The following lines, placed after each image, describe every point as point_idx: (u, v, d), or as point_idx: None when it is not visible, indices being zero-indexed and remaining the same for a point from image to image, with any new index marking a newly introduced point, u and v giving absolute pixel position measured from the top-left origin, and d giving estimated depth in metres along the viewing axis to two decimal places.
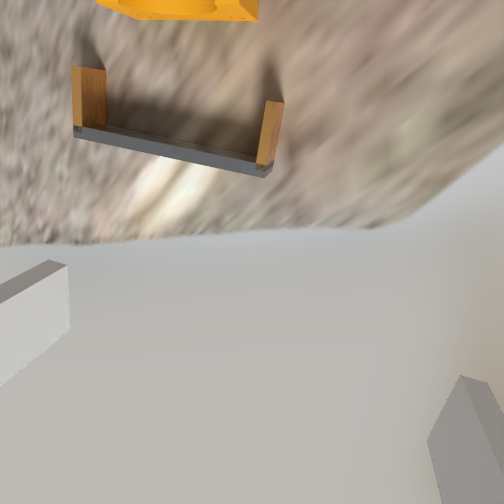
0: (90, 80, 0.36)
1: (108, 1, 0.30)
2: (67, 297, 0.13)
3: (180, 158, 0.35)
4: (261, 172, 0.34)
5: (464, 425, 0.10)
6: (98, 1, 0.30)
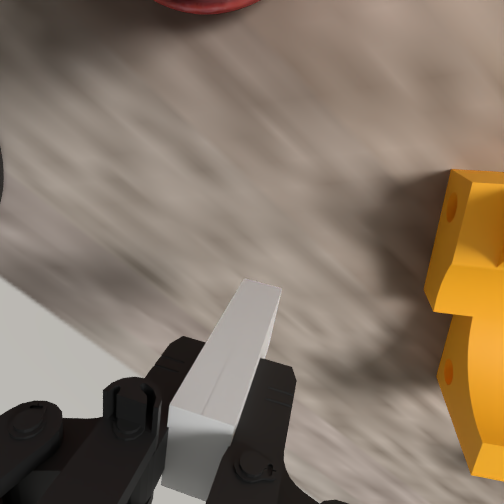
0: None
1: None
2: None
3: None
4: None
5: None
6: None
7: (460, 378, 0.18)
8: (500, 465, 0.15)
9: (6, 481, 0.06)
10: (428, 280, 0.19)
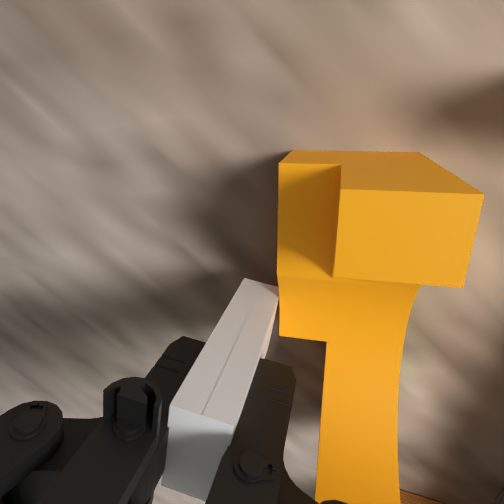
0: None
1: None
2: None
3: None
4: None
5: None
6: None
7: None
8: None
9: (7, 481, 0.06)
10: None
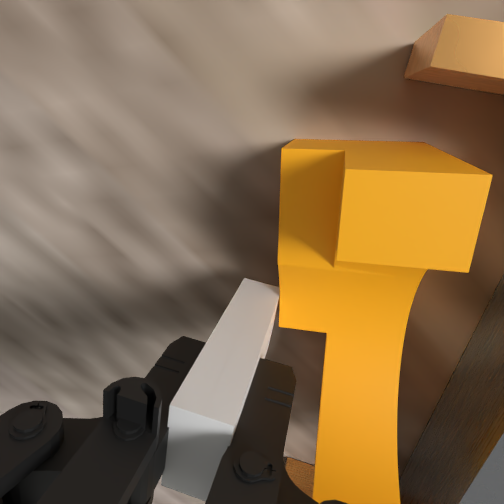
0: None
1: None
2: None
3: None
4: None
5: None
6: None
7: (319, 413, 0.14)
8: None
9: (6, 481, 0.06)
10: None
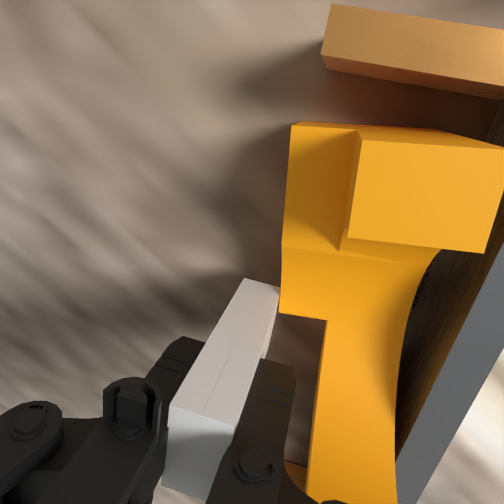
0: None
1: None
2: None
3: (478, 380, 0.11)
4: None
5: None
6: None
7: (316, 402, 0.14)
8: None
9: (6, 481, 0.06)
10: None
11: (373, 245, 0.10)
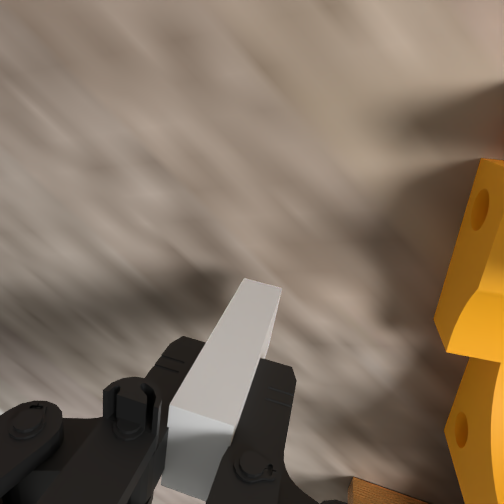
0: None
1: None
2: None
3: None
4: None
5: None
6: None
7: (478, 444, 0.13)
8: None
9: (6, 481, 0.06)
10: (441, 307, 0.14)
11: None
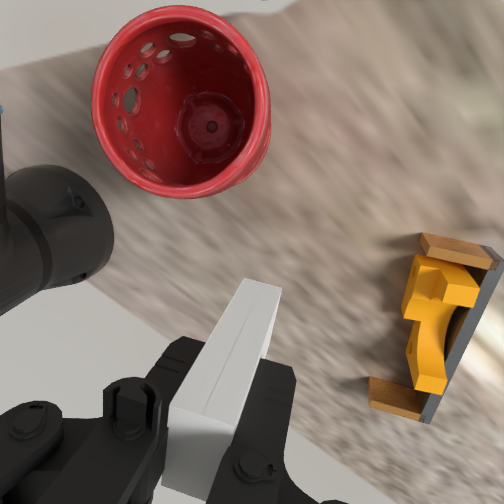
0: (380, 393, 0.42)
1: (443, 386, 0.36)
2: None
3: (468, 339, 0.36)
4: (500, 264, 0.33)
5: None
6: (441, 393, 0.36)
7: (414, 349, 0.39)
8: (426, 384, 0.36)
9: (6, 481, 0.06)
10: (403, 303, 0.40)
11: None
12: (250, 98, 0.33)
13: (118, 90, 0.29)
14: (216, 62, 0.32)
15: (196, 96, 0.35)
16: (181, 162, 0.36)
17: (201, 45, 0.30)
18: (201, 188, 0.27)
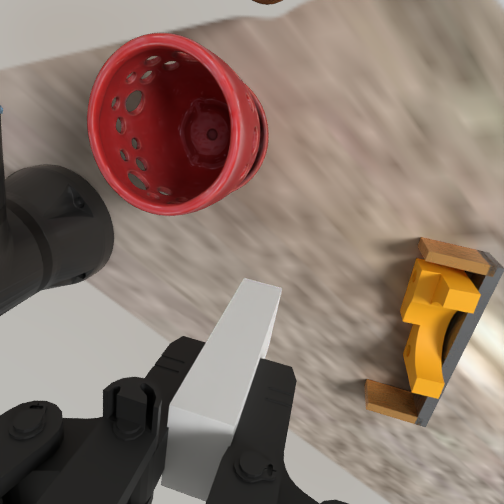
0: (377, 396, 0.43)
1: (440, 390, 0.36)
2: None
3: (465, 343, 0.36)
4: (497, 270, 0.33)
5: None
6: (437, 397, 0.37)
7: (412, 353, 0.39)
8: (423, 388, 0.37)
9: (6, 481, 0.06)
10: (402, 306, 0.40)
11: (442, 304, 0.36)
12: None
13: (119, 94, 0.31)
14: None
15: (203, 101, 0.36)
16: (177, 162, 0.37)
17: None
18: (169, 210, 0.29)
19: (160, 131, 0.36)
